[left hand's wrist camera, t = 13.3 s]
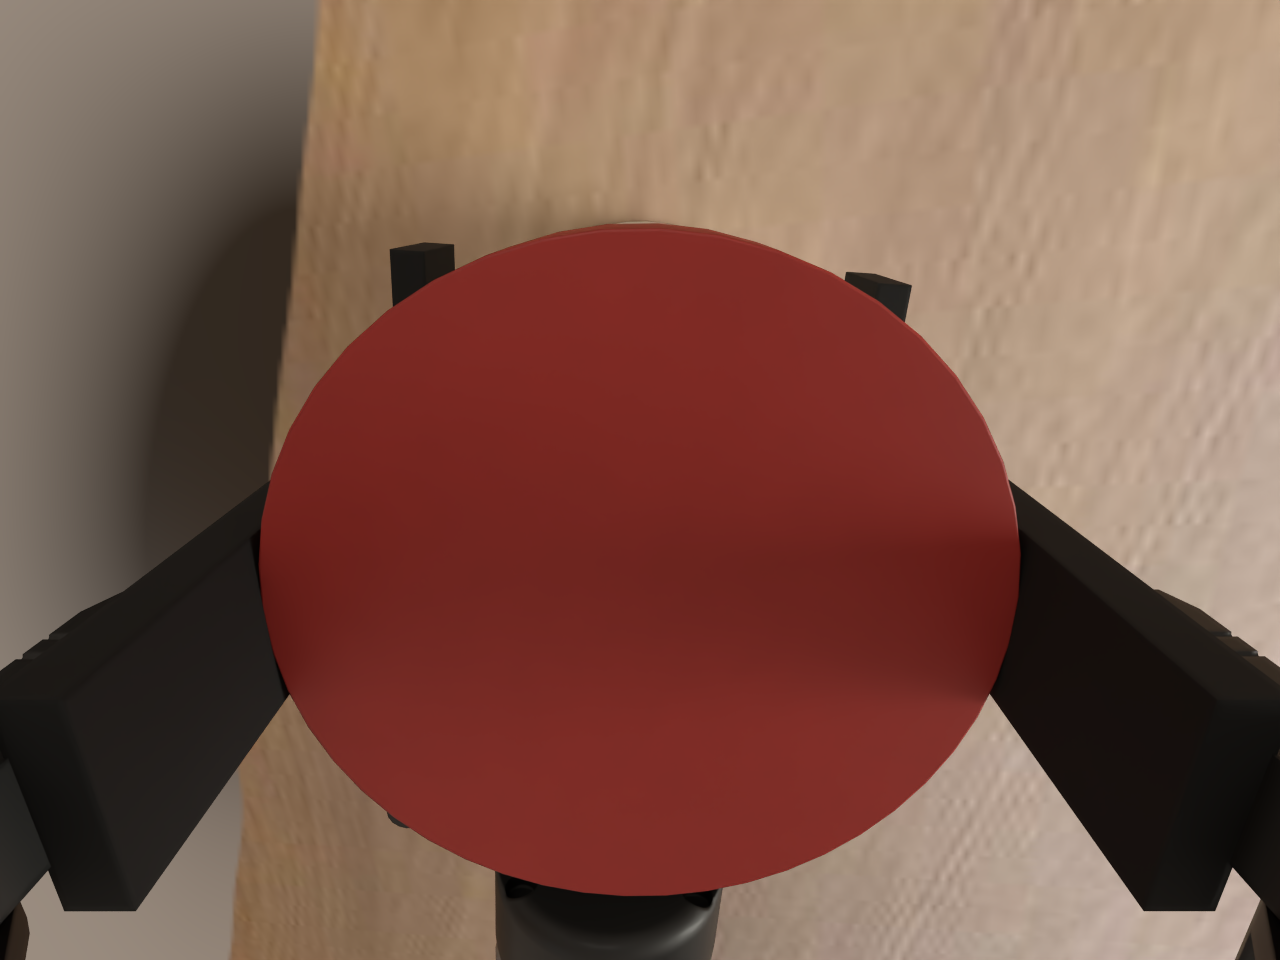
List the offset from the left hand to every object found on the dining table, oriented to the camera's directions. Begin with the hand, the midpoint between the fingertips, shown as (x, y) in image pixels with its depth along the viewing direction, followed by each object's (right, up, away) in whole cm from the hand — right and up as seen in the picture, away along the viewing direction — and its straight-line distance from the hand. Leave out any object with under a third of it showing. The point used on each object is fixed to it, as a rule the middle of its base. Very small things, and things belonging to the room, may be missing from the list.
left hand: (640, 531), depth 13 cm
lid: (0, -1, -3) cm, 3 cm away
